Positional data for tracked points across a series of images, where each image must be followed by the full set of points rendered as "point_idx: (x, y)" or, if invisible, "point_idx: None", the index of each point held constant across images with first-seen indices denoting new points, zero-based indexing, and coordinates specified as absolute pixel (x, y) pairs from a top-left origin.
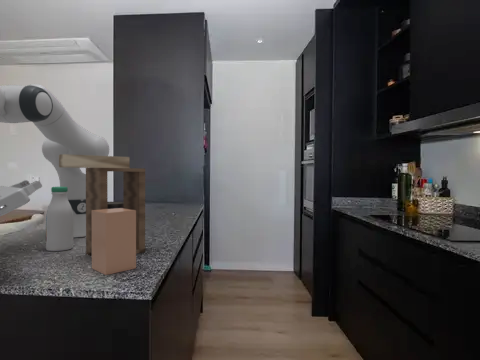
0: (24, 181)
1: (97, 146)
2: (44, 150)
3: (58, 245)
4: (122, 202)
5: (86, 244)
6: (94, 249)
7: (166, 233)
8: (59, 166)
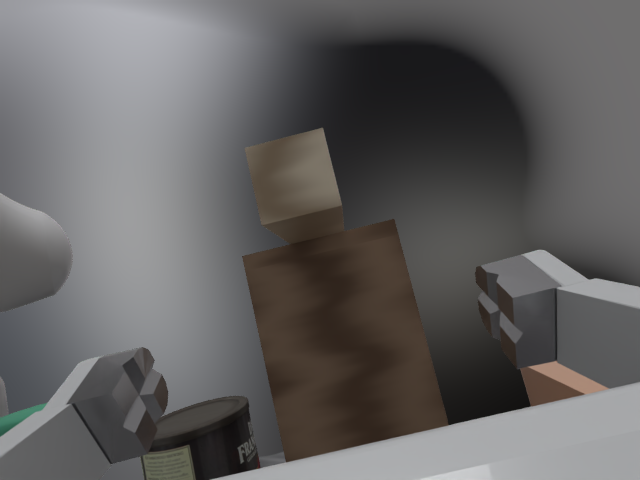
0: (125, 364)
1: (51, 238)
2: None
3: None
4: (211, 402)
5: None
6: None
7: (266, 457)
8: (269, 217)
